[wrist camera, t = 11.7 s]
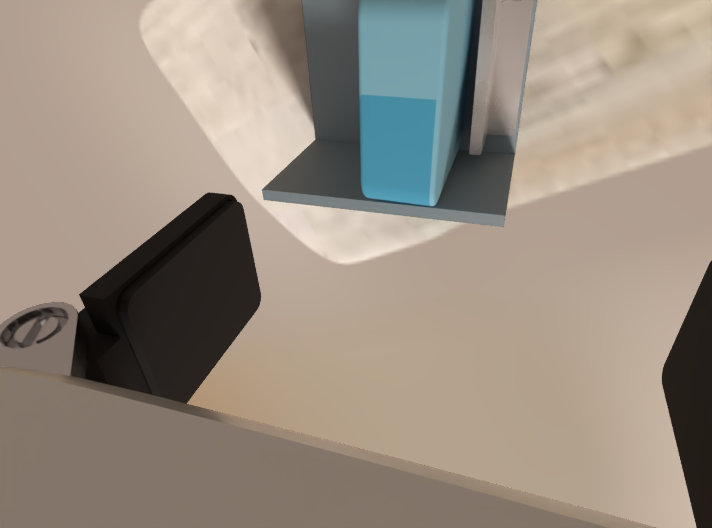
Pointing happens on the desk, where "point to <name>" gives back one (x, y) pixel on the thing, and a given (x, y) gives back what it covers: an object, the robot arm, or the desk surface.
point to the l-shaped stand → (342, 133)
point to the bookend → (499, 69)
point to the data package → (412, 94)
